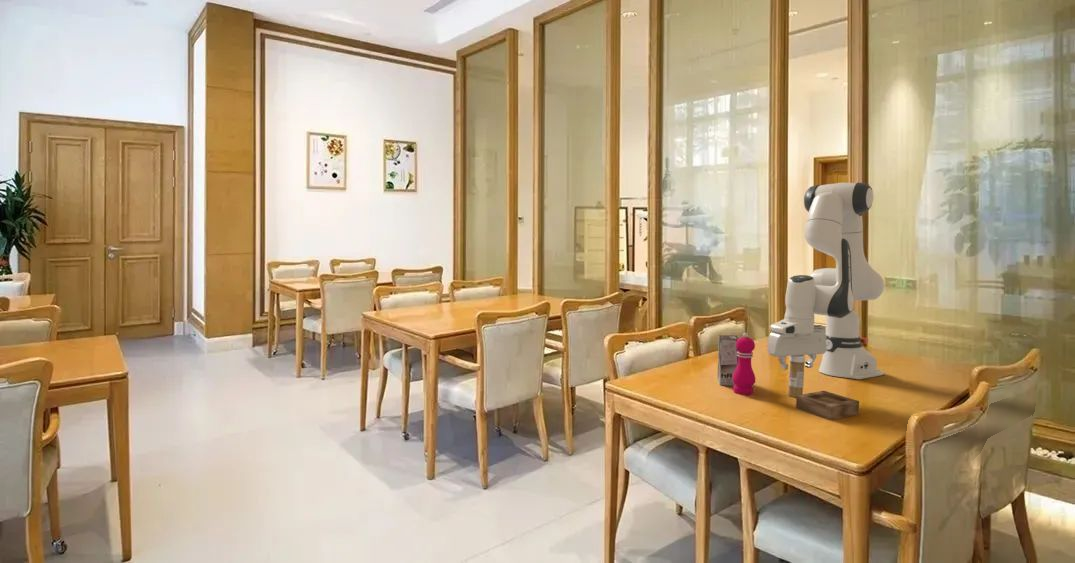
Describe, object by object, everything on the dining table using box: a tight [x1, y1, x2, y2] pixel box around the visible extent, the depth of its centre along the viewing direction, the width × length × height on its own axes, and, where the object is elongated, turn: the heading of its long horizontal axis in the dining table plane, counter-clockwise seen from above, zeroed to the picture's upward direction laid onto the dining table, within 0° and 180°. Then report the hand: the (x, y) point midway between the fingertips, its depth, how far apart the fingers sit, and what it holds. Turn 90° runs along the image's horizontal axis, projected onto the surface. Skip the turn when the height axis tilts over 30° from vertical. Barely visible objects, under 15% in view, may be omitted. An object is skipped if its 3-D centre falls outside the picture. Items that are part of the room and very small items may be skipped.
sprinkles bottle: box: [787, 355, 806, 398], centre depth 194 cm, size 5×5×14 cm
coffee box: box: [717, 334, 739, 387], centre depth 210 cm, size 9×6×16 cm
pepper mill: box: [732, 332, 756, 396], centre depth 198 cm, size 7×7×20 cm
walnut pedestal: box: [795, 390, 860, 421], centre depth 179 cm, size 12×12×4 cm
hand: (796, 368), depth 194 cm, fingers open, 8 cm apart
